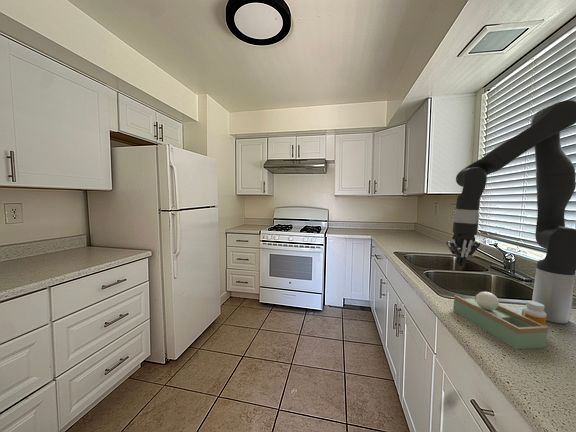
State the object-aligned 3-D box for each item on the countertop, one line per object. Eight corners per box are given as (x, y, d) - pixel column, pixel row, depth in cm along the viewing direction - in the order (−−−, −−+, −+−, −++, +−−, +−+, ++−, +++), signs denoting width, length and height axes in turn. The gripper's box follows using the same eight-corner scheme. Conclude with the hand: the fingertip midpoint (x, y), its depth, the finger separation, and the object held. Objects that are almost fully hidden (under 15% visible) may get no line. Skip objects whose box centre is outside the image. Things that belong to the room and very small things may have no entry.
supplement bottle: (548, 338, 73) (553, 308, 72) (528, 336, 74) (532, 306, 73) (534, 329, 78) (538, 300, 77) (515, 326, 79) (519, 298, 78)
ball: (485, 304, 85) (487, 288, 84) (502, 313, 79) (504, 295, 78) (470, 305, 84) (472, 289, 83) (486, 314, 78) (488, 296, 77)
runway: (475, 309, 90) (477, 294, 90) (545, 347, 68) (548, 327, 68) (453, 310, 89) (454, 295, 88) (516, 349, 67) (519, 329, 67)
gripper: (472, 220, 94) (467, 263, 96) (442, 219, 93) (437, 263, 94) (490, 223, 87) (485, 269, 89) (458, 222, 85) (453, 269, 87)
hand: (460, 266), depth 91 cm, fingers closed
